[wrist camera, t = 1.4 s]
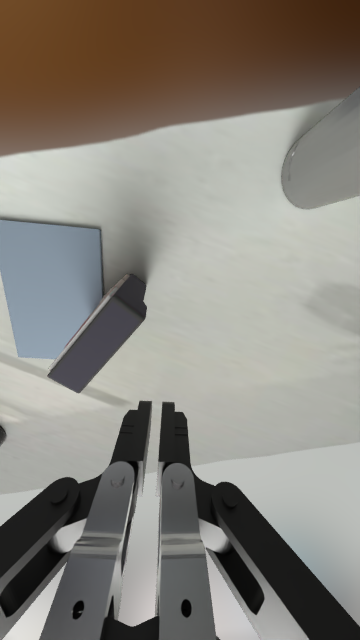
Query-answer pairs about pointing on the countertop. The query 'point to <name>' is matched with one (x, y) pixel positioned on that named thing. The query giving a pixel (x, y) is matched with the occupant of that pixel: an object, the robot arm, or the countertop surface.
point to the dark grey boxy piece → (101, 334)
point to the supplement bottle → (2, 436)
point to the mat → (49, 283)
